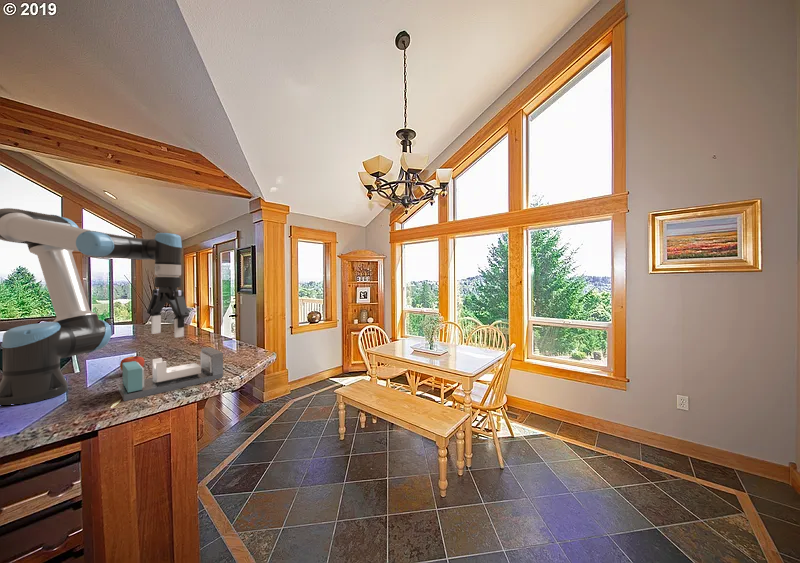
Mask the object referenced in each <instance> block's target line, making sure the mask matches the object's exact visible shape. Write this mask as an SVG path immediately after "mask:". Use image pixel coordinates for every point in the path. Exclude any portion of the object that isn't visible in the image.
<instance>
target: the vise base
mask: <svg viewBox="0 0 800 563" xmlns="http://www.w3.org/2000/svg"><path fill="white" fill-rule="evenodd" d="M222 377H223V378H224V373H223V374H218V375H214V376H213V375H211V374H210V373H208V372H207V371H205V370H203V369H202V368H201V373H199V374H194V375H190V376H185V377H180V378H175V379H171V380H166V381H161V382H156V383H155V382H154V381H153V380H152V377H149V378H144V387H143V388H142V390H138V391H133V392H129V393H128V392H127V390H126V388H125V386H124V385H123V383H118V386H117V387H118V392H119V395H120V396H121V398H122V400H123V402H127V401H131V400H135V399H140V398H145V397H148V396H154V395H157V394H162V393H166V392H170V391H171V392H172V391H174V390H179V389H183V387H184V388H188V387H187V386H189V387H193V386H196V385H201V384H200V383H202V384H205V383H204V382H206V383H208V382H207V381H210V382H212V381H211V380H215V379H219V378H222ZM219 380H220V379H219ZM215 381H216V380H215ZM192 385H193V386H192Z"/></svg>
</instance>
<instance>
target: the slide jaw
mask: <svg viewBox="0 0 800 563" xmlns="http://www.w3.org/2000/svg"><path fill="white" fill-rule="evenodd" d="M122 369H123V371H122V384H123V385H124V386H125V388H126V390H127V392H128V393H129V392H133V391H138V390H142V388H143V387H144V379H145V368H144V366H143V367H142V366H141V365H140V364H139V363H138V362H136V361H132V362H126V363H122Z"/></svg>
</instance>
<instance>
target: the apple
mask: <svg viewBox="0 0 800 563" xmlns="http://www.w3.org/2000/svg"><path fill="white" fill-rule="evenodd" d="M132 361H136V362H138V363H139V364H140V365H141V366H142V367H143V368H144V366H145V359H144V357H142V356H139V355H138V353H136V355H132V356H127V357H125V358H123V359H122V360H120V363H119V367H120V370H121V371H122V372H123V369H122V363H126V362H132Z"/></svg>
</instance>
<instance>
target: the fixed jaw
mask: <svg viewBox="0 0 800 563" xmlns="http://www.w3.org/2000/svg"><path fill="white" fill-rule="evenodd" d="M200 350H201V351H200V364H199V365H200V366H201V368H202V369H203V370H205V371H207V372H208V373H210V374H211V375H213V376H214V375H218V374H223V375H224V352H222V351H219V350H218V349H215V348H214V347H210V346H209V347H202V348H200Z"/></svg>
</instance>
